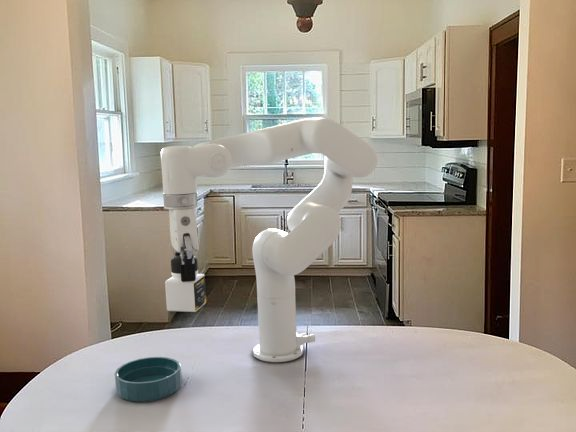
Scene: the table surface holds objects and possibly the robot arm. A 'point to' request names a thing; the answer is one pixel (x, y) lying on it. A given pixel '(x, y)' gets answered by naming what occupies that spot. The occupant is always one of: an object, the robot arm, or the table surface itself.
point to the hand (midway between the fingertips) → (185, 276)
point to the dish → (148, 379)
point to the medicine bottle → (184, 289)
